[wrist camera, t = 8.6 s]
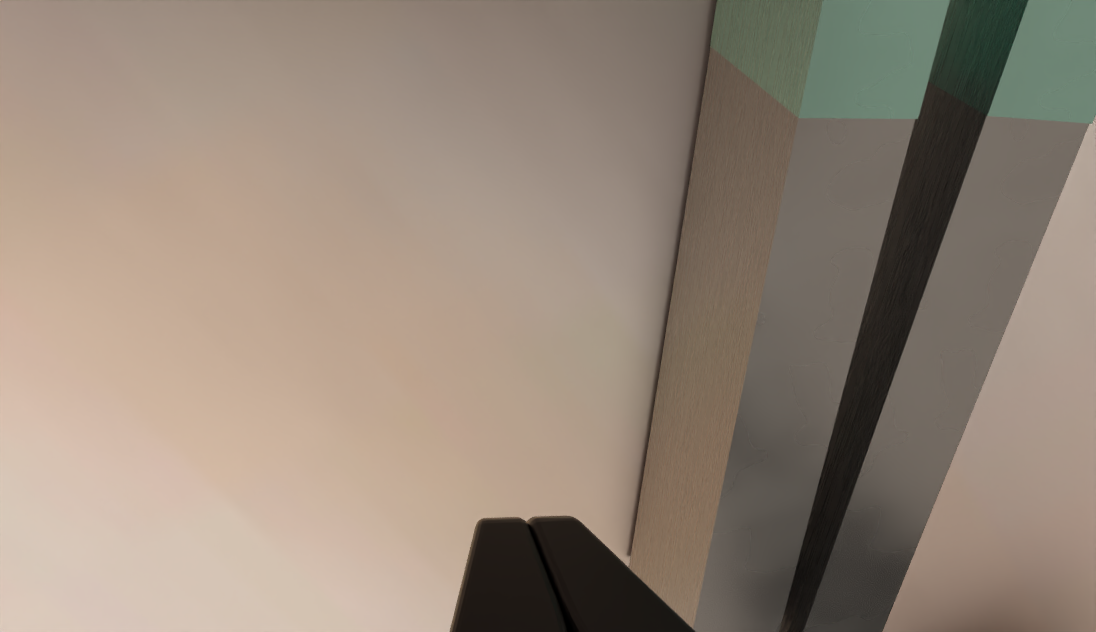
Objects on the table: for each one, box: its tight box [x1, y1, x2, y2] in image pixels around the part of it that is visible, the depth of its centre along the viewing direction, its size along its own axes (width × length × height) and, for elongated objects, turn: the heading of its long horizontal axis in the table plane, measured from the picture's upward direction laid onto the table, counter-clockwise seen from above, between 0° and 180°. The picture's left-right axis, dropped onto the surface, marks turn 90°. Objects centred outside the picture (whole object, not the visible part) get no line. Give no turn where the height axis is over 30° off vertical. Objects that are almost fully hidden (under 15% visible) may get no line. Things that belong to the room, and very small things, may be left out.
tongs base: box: [779, 0, 1096, 632], centre depth 21 cm, size 4×22×4 cm, turn 171°
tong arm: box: [629, 0, 950, 632], centre depth 20 cm, size 2×18×4 cm, turn 175°
